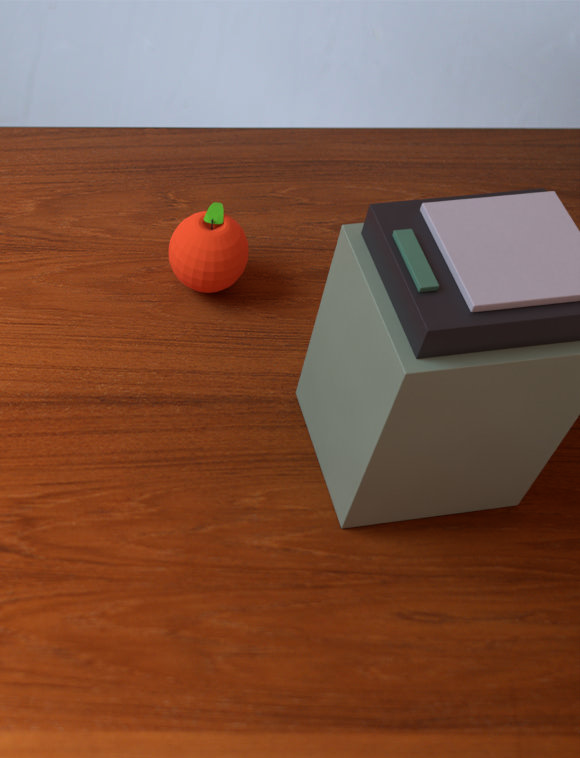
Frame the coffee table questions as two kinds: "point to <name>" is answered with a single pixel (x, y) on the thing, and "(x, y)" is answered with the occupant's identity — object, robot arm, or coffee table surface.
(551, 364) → the riser
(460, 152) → the coffee table surface
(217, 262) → the clementine
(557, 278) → the scale
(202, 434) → the coffee table surface
